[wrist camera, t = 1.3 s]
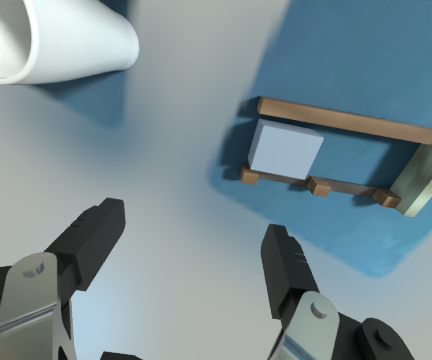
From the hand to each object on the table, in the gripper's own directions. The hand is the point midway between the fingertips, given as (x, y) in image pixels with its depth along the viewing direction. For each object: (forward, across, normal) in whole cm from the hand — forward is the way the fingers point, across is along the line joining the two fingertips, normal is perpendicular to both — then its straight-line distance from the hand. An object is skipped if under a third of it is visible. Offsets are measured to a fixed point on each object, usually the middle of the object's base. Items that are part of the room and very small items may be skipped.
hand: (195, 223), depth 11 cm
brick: (+18, -9, 0) cm, 20 cm away
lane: (+18, -16, 0) cm, 24 cm away
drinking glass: (+18, +12, -8) cm, 23 cm away
